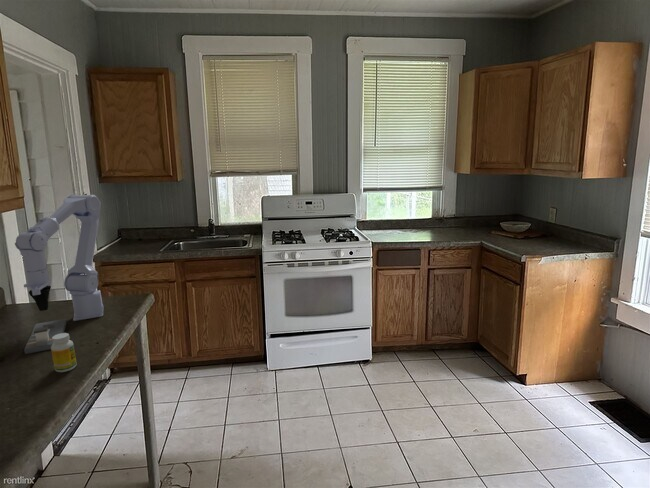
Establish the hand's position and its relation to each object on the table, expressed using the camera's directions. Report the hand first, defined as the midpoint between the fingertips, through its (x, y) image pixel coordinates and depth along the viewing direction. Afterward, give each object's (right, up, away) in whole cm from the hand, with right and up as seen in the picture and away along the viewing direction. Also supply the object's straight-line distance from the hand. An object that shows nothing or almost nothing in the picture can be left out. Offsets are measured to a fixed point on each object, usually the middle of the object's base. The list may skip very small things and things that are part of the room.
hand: (43, 309), depth 142 cm
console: (+1, -9, +1) cm, 9 cm away
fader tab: (+4, -9, -7) cm, 12 cm away
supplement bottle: (+19, -13, -20) cm, 31 cm away
